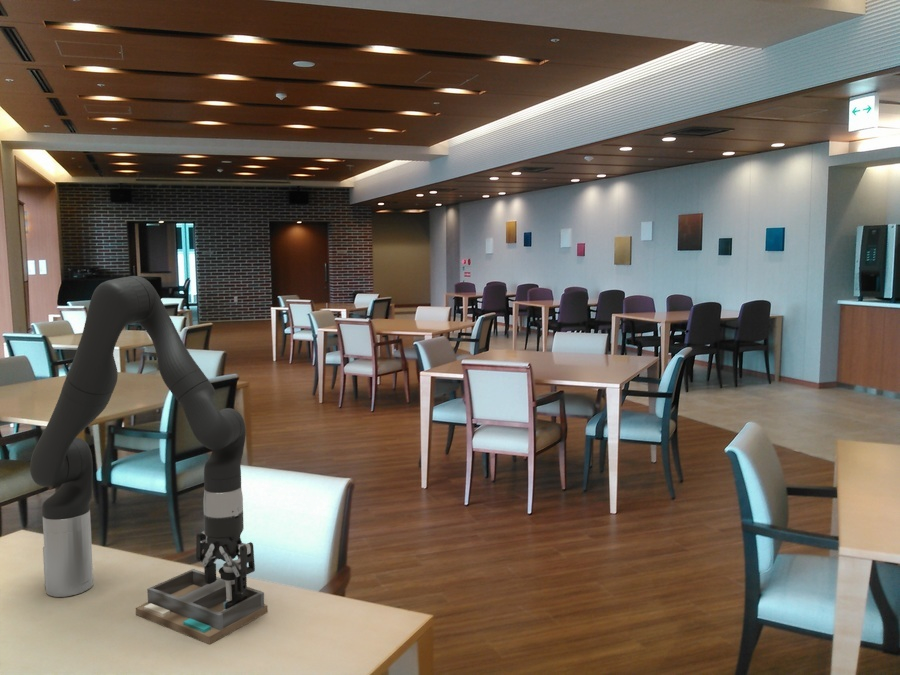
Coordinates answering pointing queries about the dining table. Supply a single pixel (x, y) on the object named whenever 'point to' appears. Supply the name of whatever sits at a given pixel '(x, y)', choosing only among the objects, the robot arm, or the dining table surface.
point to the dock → (199, 606)
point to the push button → (230, 586)
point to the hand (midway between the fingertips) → (225, 587)
